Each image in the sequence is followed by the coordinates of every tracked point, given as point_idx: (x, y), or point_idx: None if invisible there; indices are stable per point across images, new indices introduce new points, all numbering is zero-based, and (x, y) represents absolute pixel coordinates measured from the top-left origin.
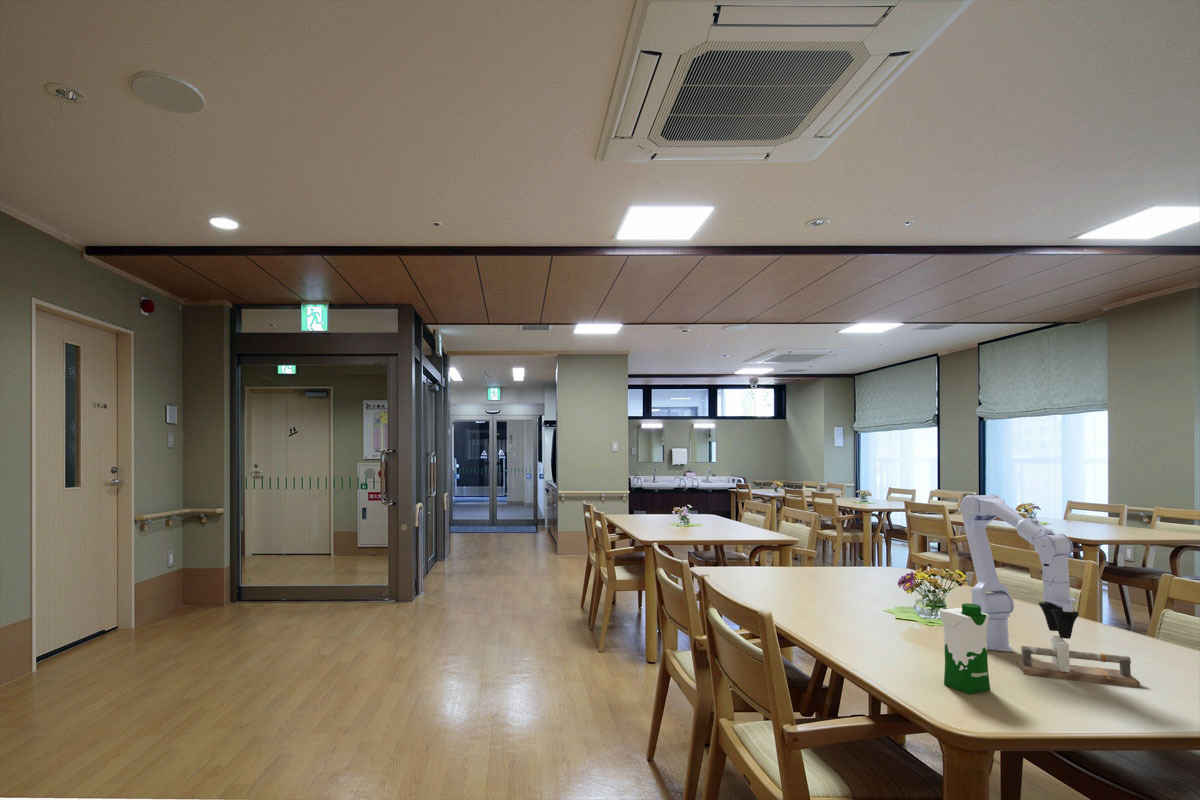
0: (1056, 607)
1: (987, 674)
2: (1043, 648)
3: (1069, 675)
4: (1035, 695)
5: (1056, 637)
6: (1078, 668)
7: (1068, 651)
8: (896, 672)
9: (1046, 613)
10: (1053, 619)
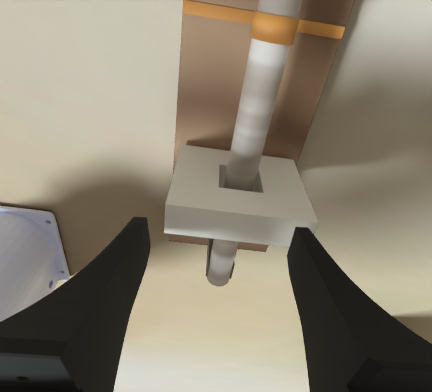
0: (94, 353)
1: None
2: (230, 242)
3: (296, 159)
4: (415, 265)
5: (195, 224)
6: (218, 101)
7: (310, 204)
8: (287, 382)
9: (121, 336)
10: (129, 283)
